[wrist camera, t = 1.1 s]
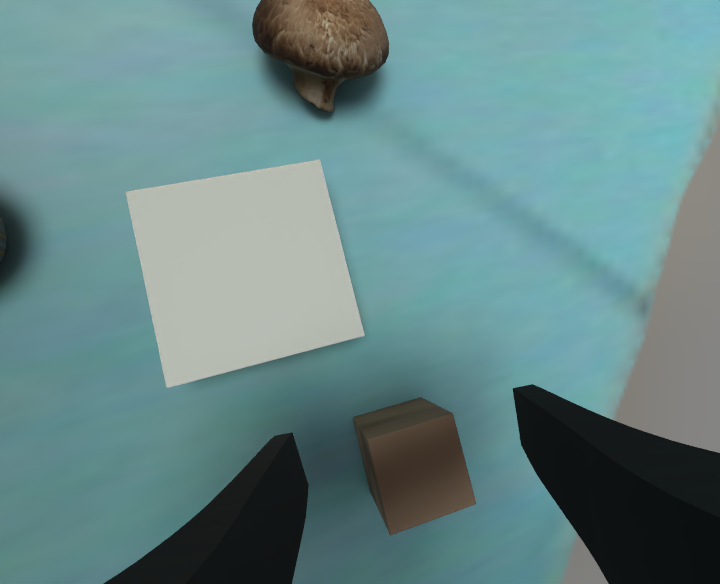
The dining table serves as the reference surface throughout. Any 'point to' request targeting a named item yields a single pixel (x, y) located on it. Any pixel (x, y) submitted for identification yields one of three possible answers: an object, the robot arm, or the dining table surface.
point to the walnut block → (413, 463)
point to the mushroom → (322, 42)
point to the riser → (242, 269)
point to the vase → (2, 239)
